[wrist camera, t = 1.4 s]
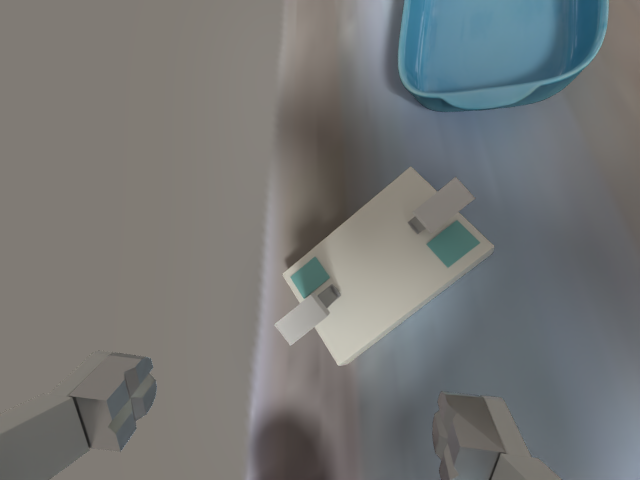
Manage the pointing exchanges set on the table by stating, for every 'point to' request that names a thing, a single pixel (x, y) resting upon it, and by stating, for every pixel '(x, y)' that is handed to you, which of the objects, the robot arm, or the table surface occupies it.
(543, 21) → the casserole dish
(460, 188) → the lever
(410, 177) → the switch panel
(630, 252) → the table surface
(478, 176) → the table surface
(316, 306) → the lever
